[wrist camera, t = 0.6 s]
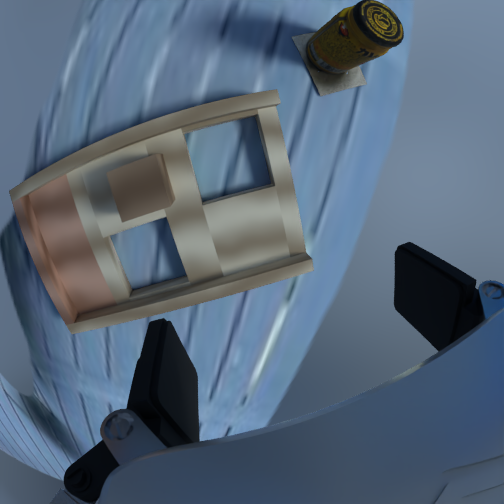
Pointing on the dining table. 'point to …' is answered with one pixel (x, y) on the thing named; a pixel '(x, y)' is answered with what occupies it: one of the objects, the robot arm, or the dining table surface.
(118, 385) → the dining table surface
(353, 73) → the condiment
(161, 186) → the walnut block
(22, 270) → the dining table surface
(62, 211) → the trap track
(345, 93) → the dining table surface
